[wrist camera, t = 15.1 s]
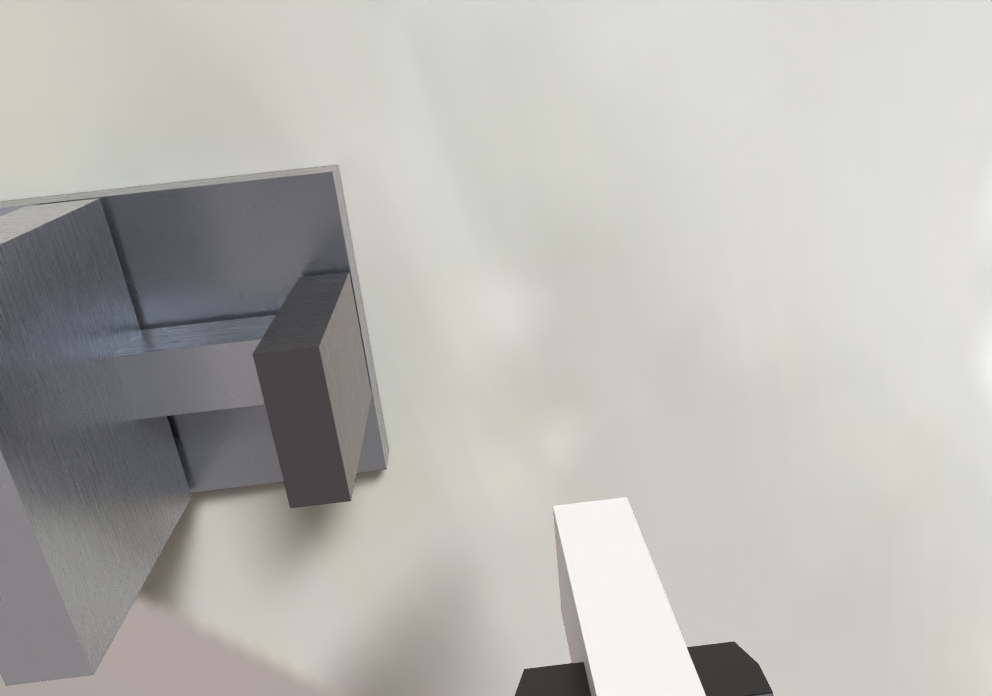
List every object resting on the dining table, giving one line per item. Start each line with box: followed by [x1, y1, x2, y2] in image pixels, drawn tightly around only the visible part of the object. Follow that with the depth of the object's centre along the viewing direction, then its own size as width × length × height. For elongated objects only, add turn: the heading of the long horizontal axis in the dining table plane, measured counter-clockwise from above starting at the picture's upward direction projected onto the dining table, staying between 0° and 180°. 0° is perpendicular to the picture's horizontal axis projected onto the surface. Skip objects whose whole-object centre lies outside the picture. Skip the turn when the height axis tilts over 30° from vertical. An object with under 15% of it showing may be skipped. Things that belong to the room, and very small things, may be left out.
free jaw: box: [0, 198, 372, 685], centre depth 23 cm, size 12×11×9 cm
